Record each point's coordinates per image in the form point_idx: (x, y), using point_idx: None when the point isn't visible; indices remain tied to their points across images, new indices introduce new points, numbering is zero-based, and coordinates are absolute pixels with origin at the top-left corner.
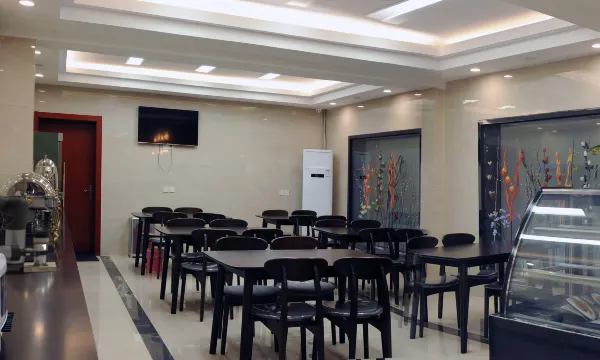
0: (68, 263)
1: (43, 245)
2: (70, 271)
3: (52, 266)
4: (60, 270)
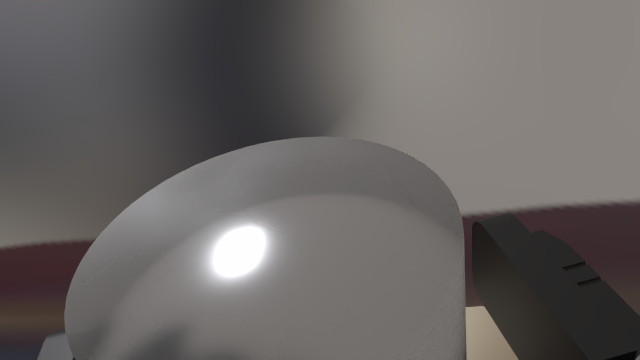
0: (27, 263)
1: (419, 170)
2: (557, 227)
3: (506, 344)
4: (481, 302)
